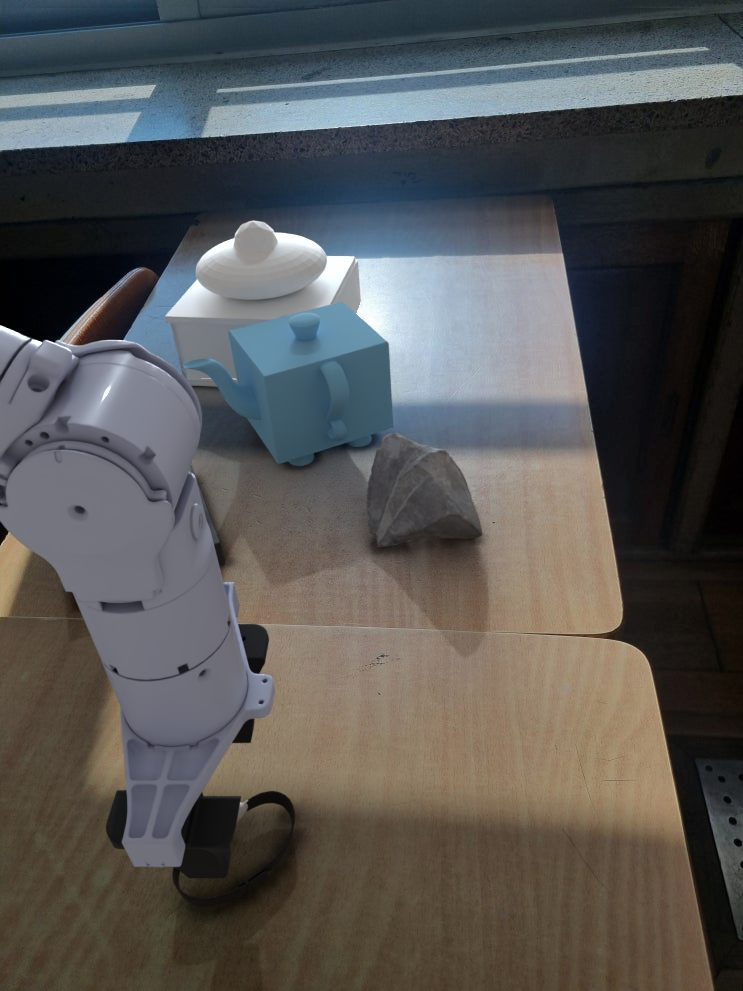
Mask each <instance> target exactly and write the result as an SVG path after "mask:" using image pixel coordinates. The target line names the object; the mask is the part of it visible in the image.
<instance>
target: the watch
mask: <svg viewBox="0 0 743 991" xmlns="http://www.w3.org/2000/svg"><path fill="white" fill-rule="evenodd" d="M291 800H292V799H291V798H289V797H288V796H287V795H286V794H284V793H282V792H280V791H276V790H268V791H263V792H259V793H257V794H254V795H253V796H251V797H250V798H247V799H246V800H245V801H244V802H241V801H240V807H239V812H238V818H237V823H239V821H241V819H242V818H243V817H244V816H245V813H247V812H249V811H251V810H252V809H254V808H257V807H259V806H262V805H263V806H264V805H266V804H275V805H278V806H280V807H282V808H283V809H284V810H286V812H287V814H288V815H289V818H290V825H291V826H290V830H289V834H288V836H287V839H286V841H285V843H284V844H283V846H282V847H281V848H280V850H279V851H278V853H277V854H275V856H274V857H273V858H272V859H271V860H270V861H268V862H267V863H266V864H265V865H264V866H262V867H261V868H260V869H259V870H258V871H256V872H255V873H253V874H252V875H251V876H249V877H246V878H243V880H242V881H240V882H239V883H237V887H236V888H234V889H232V890H229V891H227V892H224V893H222V894H219V895H215V896H211V897H197V896H192V895H189V894H188V893H186V892H185V891H183V890H182V889H181V887H180V874H181V871H179V870H178V869H177V868H175V867H172V872H171V874H172V875H171V877H172V882H173V885H174V887H175V889H176V890H177V892H178V893H179V894H180V896H181V897H182V898H183V900H185V901H186V902H187V903H189V904H191V905H193V906H197V907H200V908H209V907H210V908H211V907H215V906H220V905H222V904H225V903H228V902H230V901H233V900H235V899H236V898H239V897H241V896H243V895H245V894H249V893H251V891H252V890H253V889H255V888H256V887H257V886H259V885H260V884H261V883H263V882H265V881H266V879H267V878H268V877H269V874H270V872H271V871H272V870H273V869H274V868H275V867H276V866H277V865H278V864H279V863H280V861H281V860H283V858H284V856H285V855H286V853H287V852H288V850H289V848H290V845H291V843H292V840H293V836H294V829H295V823H296V812H295V807H294V803H293V802H292V801H291Z"/></svg>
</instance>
